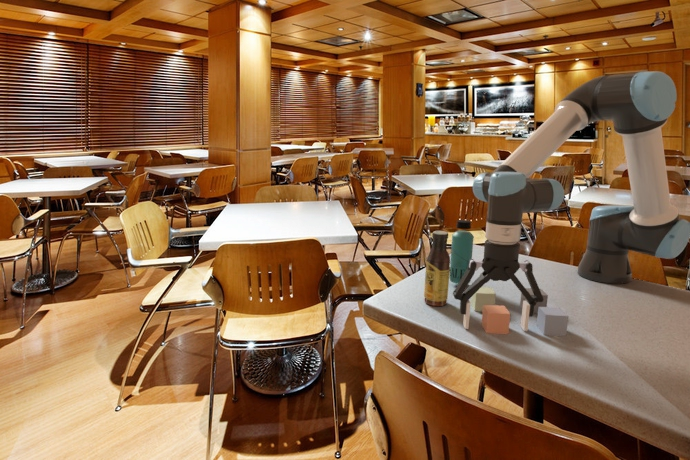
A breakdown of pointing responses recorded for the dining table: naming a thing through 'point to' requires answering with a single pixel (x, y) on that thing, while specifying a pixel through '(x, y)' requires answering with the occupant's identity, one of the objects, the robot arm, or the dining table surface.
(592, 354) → the dining table surface
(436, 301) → the sauce bottle
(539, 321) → the cube slate
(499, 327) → the cube terracotta
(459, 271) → the beverage bottle
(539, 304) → the cube charcoal
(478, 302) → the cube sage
